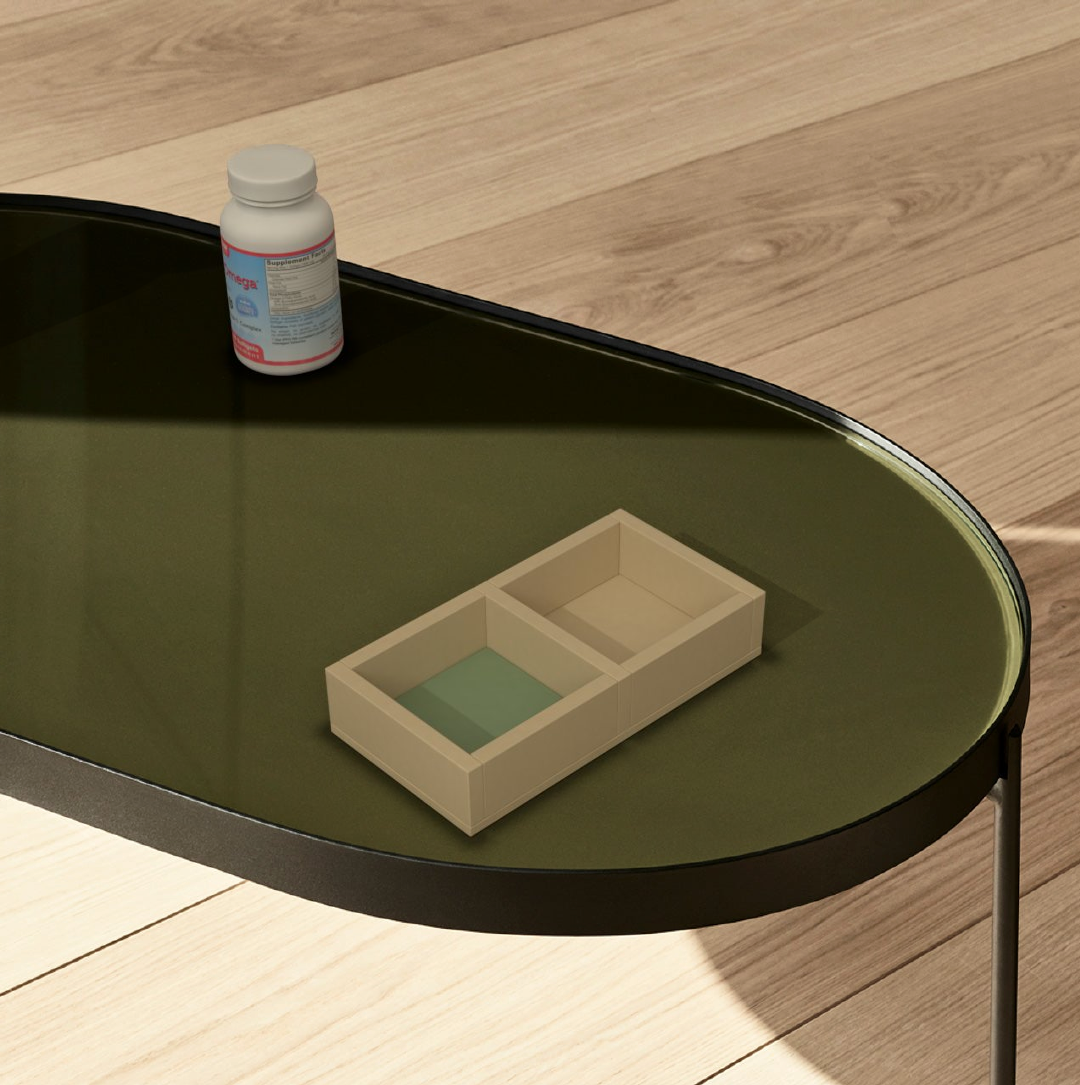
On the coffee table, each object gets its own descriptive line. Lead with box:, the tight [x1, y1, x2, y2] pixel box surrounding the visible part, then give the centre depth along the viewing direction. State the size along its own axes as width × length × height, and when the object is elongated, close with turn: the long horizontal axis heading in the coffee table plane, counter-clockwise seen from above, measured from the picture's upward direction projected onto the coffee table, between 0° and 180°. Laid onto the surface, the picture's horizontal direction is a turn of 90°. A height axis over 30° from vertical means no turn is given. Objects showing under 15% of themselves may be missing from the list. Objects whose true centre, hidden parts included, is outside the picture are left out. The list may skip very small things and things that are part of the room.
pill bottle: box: [219, 143, 344, 377], centre depth 106 cm, size 6×6×11 cm
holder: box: [324, 508, 767, 837], centre depth 85 cm, size 17×9×4 cm, turn 133°
